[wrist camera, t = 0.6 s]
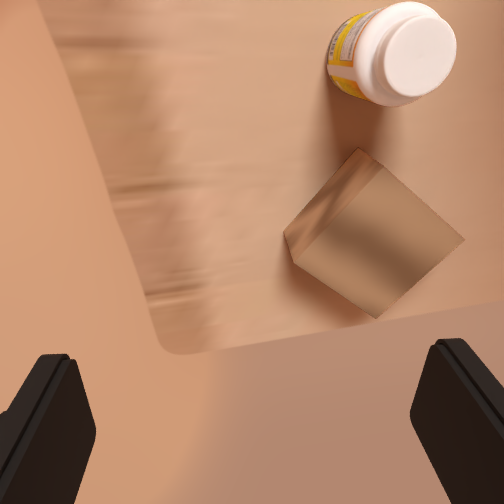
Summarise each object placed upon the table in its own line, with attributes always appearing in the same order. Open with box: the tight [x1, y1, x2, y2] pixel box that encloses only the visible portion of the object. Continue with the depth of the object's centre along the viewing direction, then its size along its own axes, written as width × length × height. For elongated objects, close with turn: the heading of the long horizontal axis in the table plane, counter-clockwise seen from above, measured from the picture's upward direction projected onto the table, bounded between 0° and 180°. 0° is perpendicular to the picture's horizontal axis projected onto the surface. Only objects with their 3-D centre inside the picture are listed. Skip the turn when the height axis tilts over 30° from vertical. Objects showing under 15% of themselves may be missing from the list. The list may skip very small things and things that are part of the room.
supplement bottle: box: [326, 2, 456, 107], centre depth 24 cm, size 6×6×10 cm
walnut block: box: [283, 148, 465, 319], centre depth 33 cm, size 10×10×6 cm
